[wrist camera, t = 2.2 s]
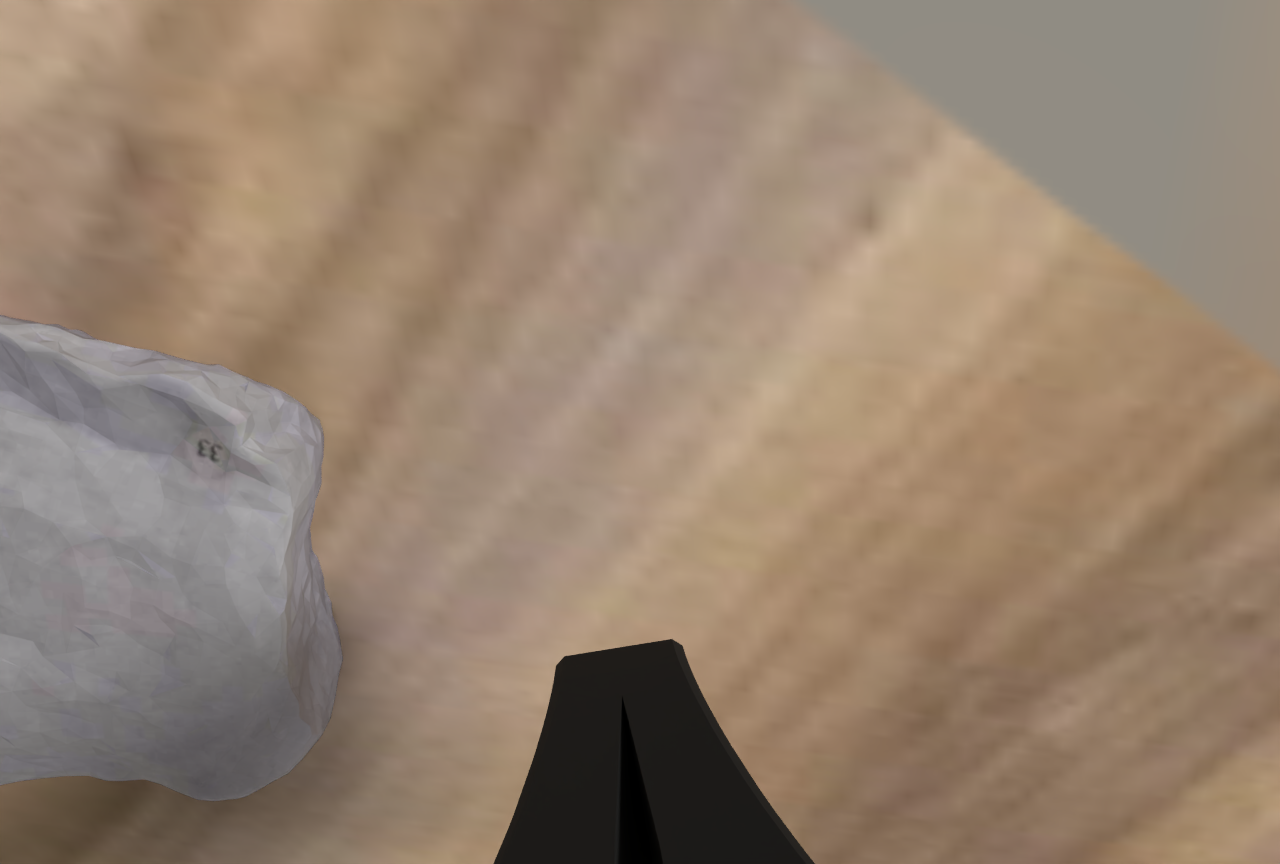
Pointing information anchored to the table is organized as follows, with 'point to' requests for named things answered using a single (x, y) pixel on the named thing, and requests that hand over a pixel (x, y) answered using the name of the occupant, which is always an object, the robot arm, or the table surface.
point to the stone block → (156, 569)
